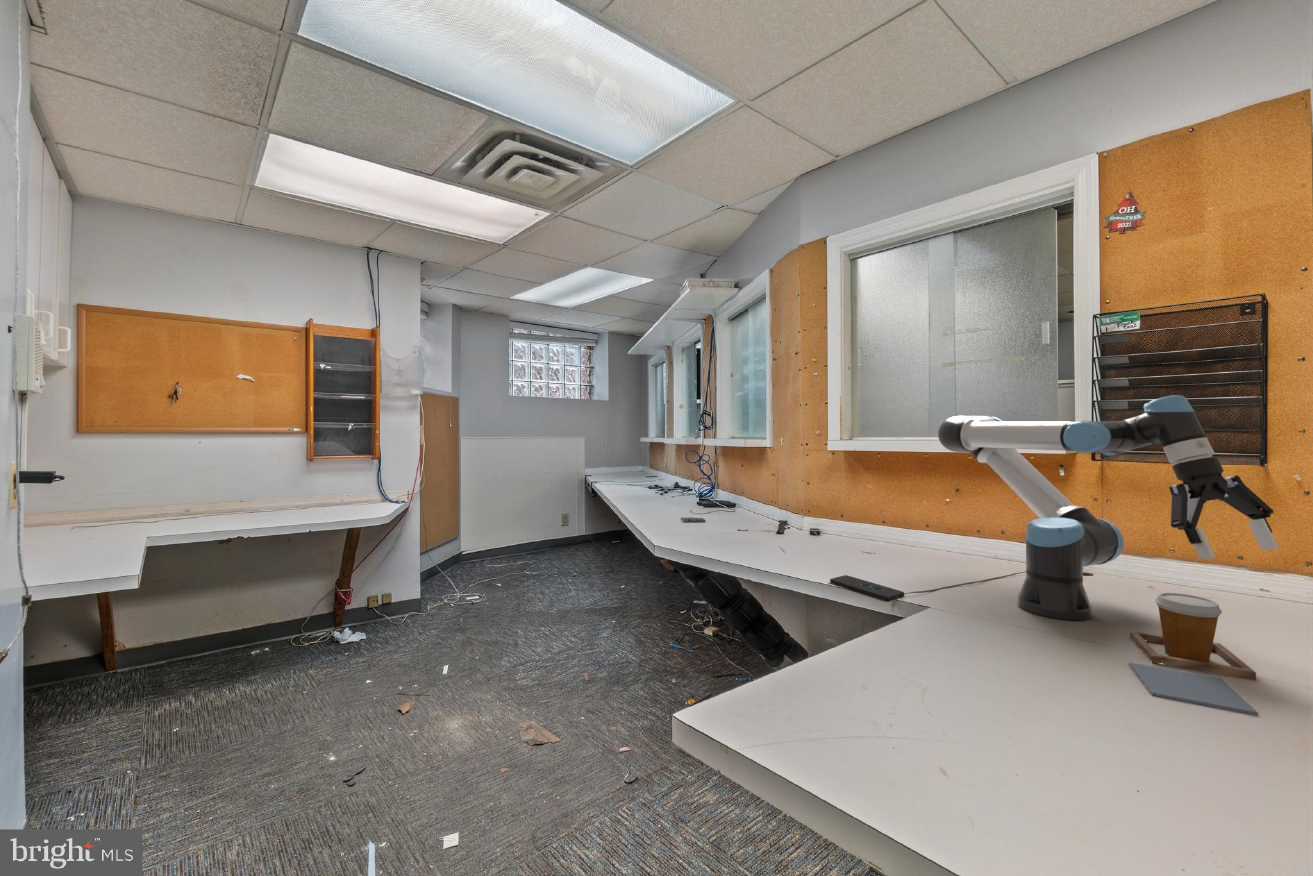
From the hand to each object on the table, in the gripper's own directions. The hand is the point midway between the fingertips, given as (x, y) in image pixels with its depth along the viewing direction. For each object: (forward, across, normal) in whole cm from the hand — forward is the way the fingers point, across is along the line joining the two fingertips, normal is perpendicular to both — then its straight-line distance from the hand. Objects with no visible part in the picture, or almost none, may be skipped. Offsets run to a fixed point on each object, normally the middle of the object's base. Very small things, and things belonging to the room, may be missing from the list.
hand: (1239, 554), depth 108 cm
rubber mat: (+21, -32, -11) cm, 39 cm away
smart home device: (-2, -67, +42) cm, 79 cm away
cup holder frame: (+18, -19, +1) cm, 26 cm away
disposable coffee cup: (+18, -19, +1) cm, 26 cm away
